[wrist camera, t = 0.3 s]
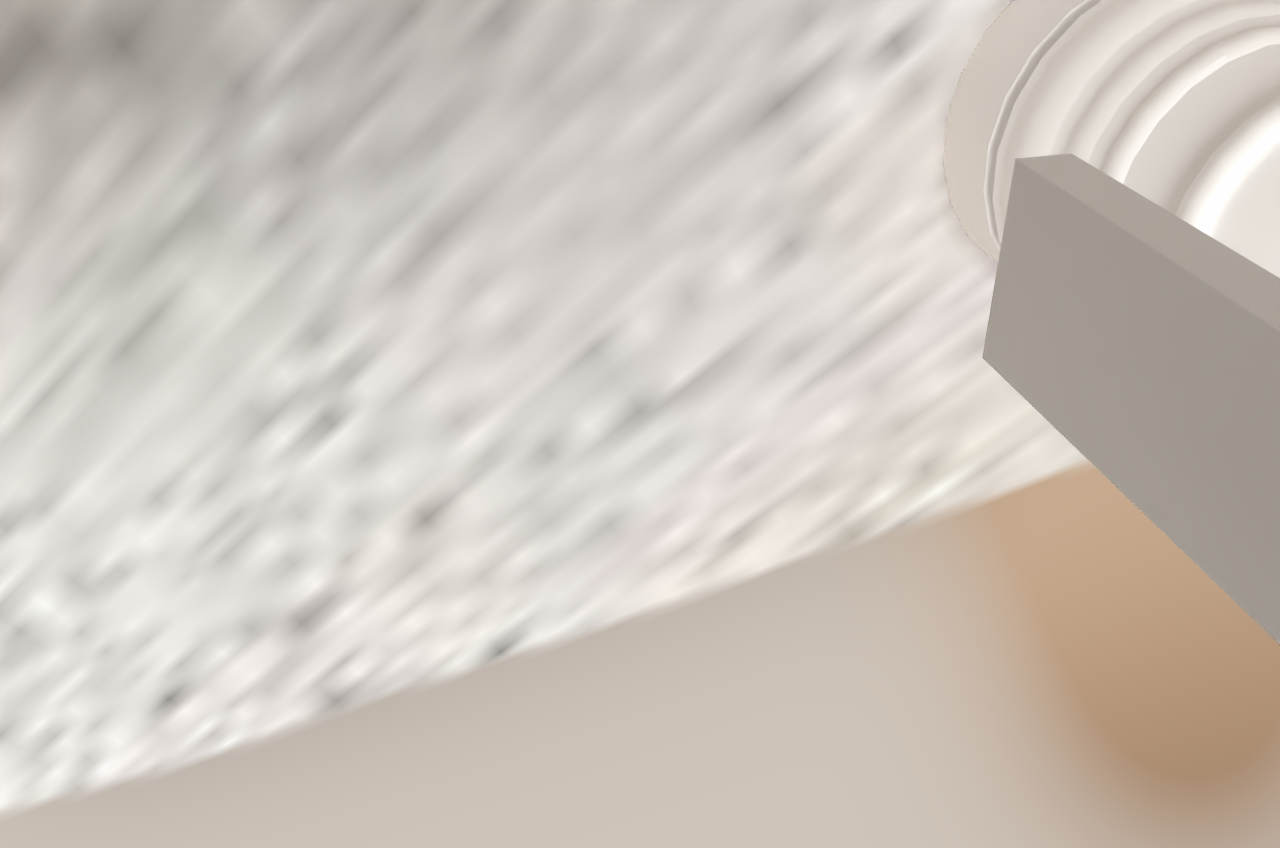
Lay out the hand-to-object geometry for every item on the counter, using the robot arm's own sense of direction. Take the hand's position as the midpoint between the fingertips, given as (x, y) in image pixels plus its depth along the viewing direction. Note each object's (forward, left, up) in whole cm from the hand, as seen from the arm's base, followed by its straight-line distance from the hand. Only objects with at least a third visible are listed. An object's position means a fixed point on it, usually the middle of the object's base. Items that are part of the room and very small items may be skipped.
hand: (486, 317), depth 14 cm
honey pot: (+10, +26, -28) cm, 39 cm away
